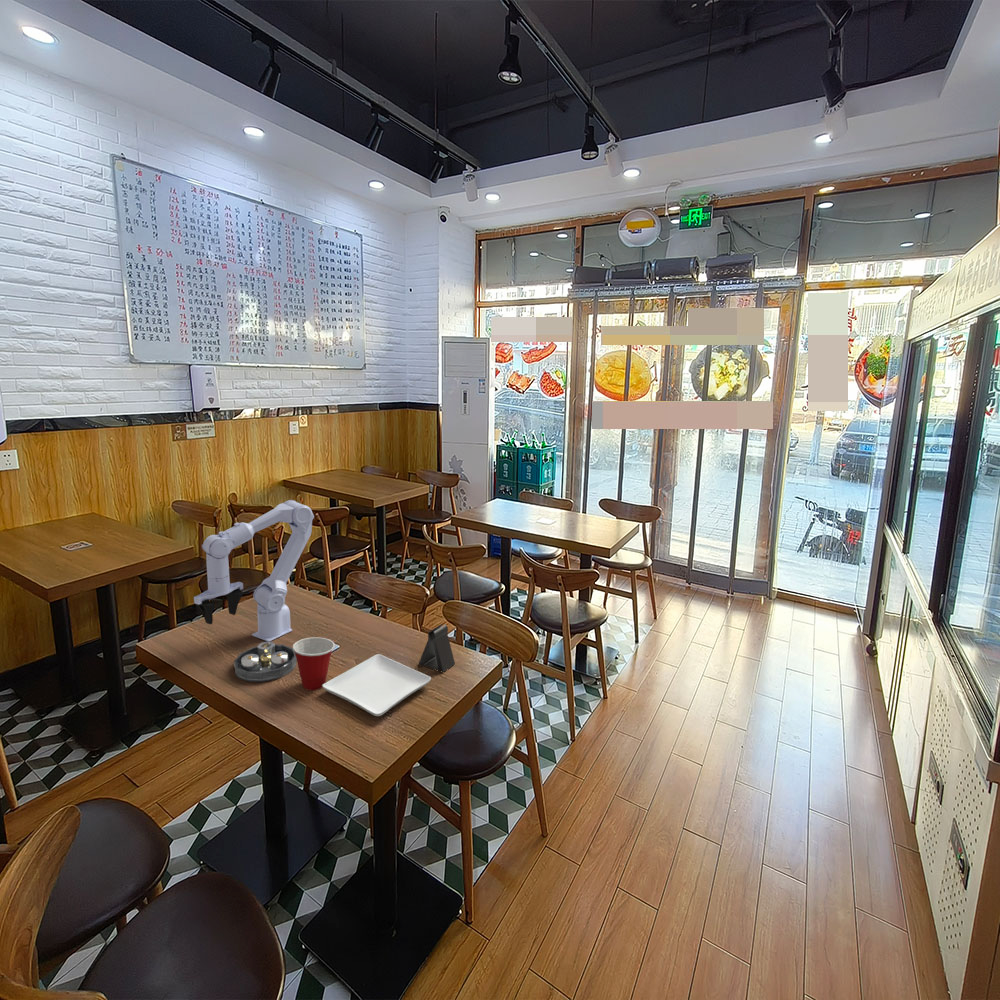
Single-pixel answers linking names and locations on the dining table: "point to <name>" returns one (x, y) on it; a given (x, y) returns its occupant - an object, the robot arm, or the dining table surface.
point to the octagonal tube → (266, 648)
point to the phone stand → (438, 650)
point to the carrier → (265, 664)
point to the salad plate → (377, 684)
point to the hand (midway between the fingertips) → (221, 618)
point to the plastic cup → (313, 660)
